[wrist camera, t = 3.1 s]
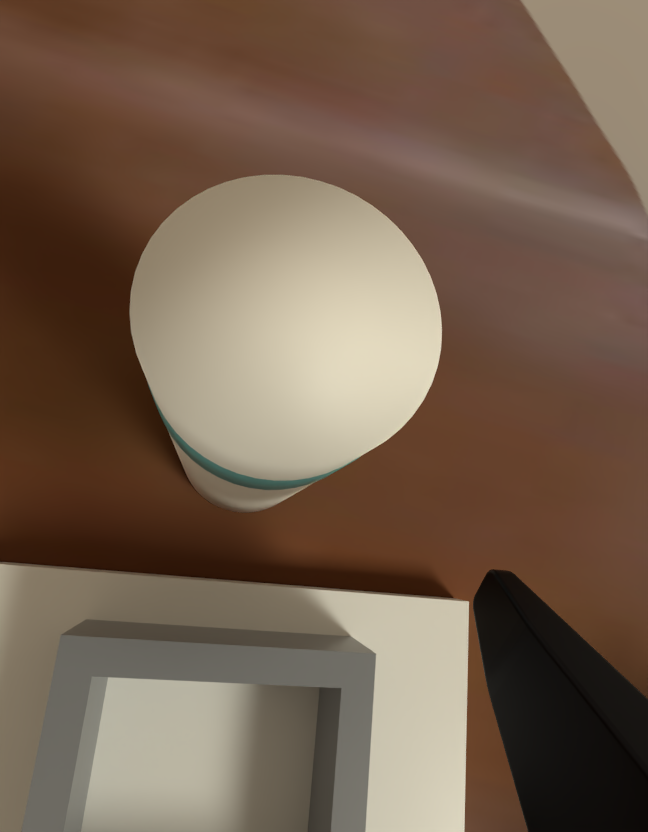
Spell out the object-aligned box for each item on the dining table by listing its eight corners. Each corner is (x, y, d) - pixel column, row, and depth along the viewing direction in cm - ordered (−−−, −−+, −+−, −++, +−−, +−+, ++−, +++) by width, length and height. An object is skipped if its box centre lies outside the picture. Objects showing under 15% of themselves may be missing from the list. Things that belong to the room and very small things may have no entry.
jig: (445, 964, 18) (511, 1084, 14) (-145, 993, 15) (-277, 1158, 11) (454, 598, 21) (511, 611, 17) (-36, 558, 18) (-108, 563, 14)
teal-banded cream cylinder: (214, 536, 20) (217, 529, 7) (159, 418, 20) (73, 228, 8) (330, 477, 21) (495, 387, 9) (275, 368, 22) (356, 140, 9)
